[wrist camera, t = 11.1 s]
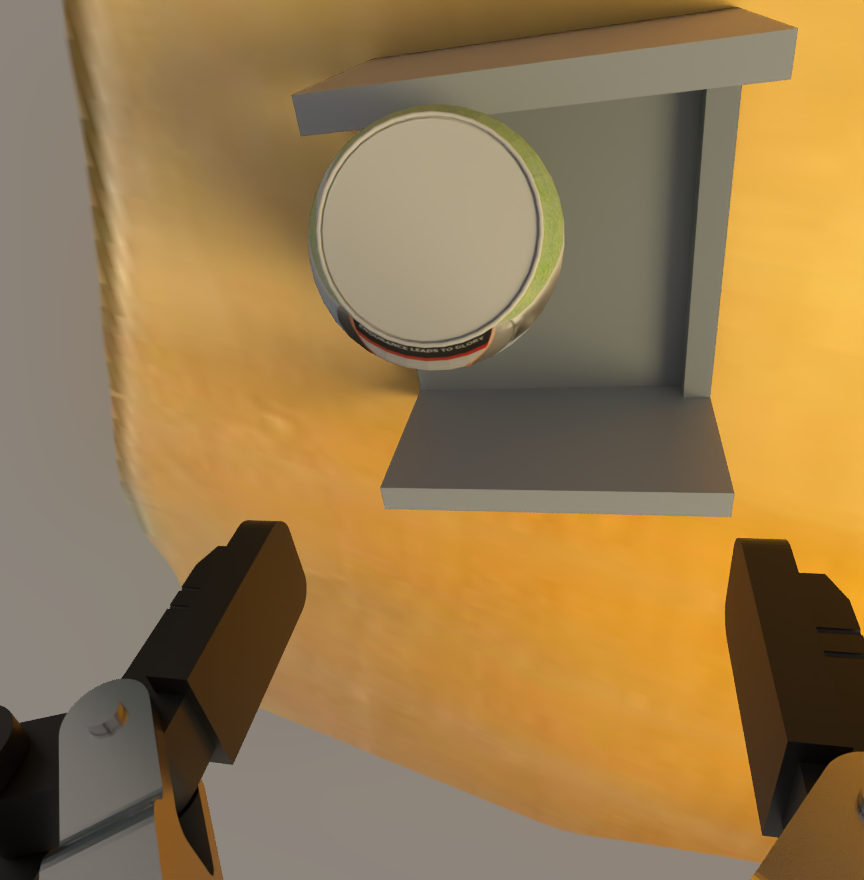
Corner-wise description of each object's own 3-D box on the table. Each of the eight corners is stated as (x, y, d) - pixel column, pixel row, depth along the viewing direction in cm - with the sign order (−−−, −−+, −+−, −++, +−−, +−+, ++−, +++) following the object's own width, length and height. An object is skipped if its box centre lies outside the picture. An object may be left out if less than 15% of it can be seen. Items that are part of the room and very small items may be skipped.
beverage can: (372, 333, 27) (248, 403, 16) (407, 137, 25) (292, 54, 14) (526, 370, 27) (511, 469, 15) (577, 173, 24) (603, 117, 13)
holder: (373, 59, 24) (291, 95, 18) (738, 7, 21) (797, 28, 15) (428, 398, 32) (385, 508, 25) (701, 393, 29) (731, 517, 23)
